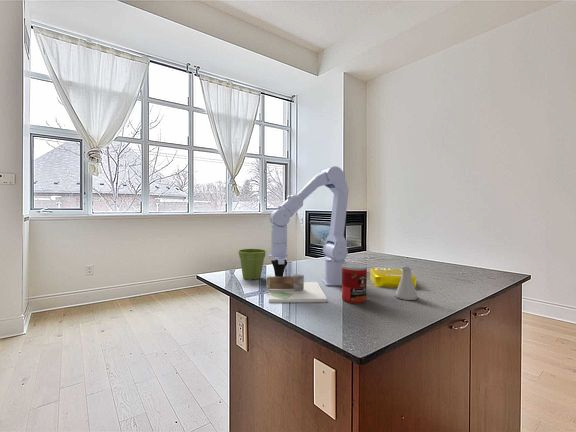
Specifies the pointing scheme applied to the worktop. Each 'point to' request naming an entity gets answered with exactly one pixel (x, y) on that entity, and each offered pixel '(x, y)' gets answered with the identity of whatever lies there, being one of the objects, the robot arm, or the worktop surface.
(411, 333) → the worktop surface
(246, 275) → the plant pot
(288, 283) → the brown bar
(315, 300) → the dial plate
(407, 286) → the flask
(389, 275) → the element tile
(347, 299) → the canned food
